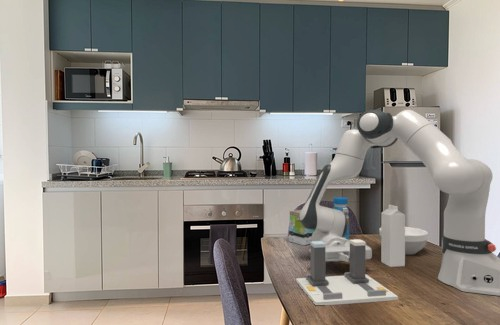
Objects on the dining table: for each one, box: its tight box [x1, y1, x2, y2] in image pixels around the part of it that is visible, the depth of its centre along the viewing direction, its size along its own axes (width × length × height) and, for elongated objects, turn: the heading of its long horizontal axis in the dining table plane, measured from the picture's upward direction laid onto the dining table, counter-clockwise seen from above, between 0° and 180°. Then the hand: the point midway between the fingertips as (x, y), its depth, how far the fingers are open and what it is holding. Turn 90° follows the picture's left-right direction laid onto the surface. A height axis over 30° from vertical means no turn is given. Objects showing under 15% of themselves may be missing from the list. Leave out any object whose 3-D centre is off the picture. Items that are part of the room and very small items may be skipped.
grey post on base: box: [346, 238, 369, 283], centre depth 105 cm, size 5×5×12 cm
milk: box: [380, 204, 406, 268], centre depth 124 cm, size 6×6×22 cm
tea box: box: [288, 209, 316, 246], centre depth 159 cm, size 15×10×15 cm
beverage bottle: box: [332, 196, 350, 238], centre depth 165 cm, size 8×8×20 cm
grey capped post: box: [307, 241, 329, 286], centre depth 103 cm, size 5×5×12 cm
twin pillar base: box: [295, 271, 399, 306], centre depth 100 cm, size 24×18×2 cm
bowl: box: [378, 226, 429, 256], centre depth 142 cm, size 19×19×9 cm
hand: (351, 259), depth 109 cm, fingers closed
